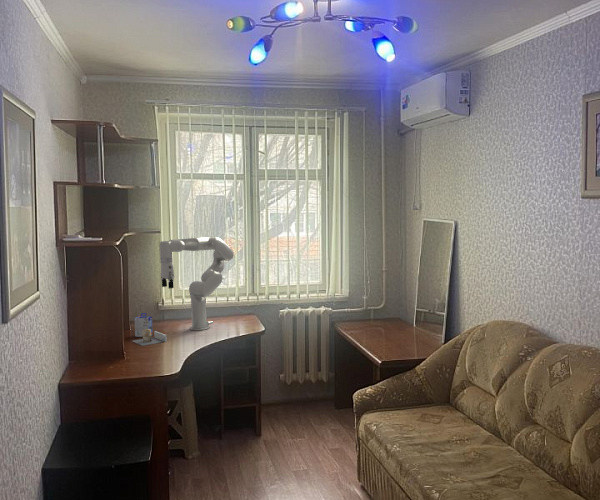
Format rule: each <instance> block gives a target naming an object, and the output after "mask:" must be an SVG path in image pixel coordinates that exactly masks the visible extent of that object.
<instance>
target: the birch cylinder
mask: <svg viewBox="0 0 600 500" xmlns="http://www.w3.org/2000/svg"><path fill="white" fill-rule="evenodd" d="M142 333H143V337H142V339H143V342H150V341H152V338H151V337H152V336H151V329H144V330H142Z"/></svg>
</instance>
